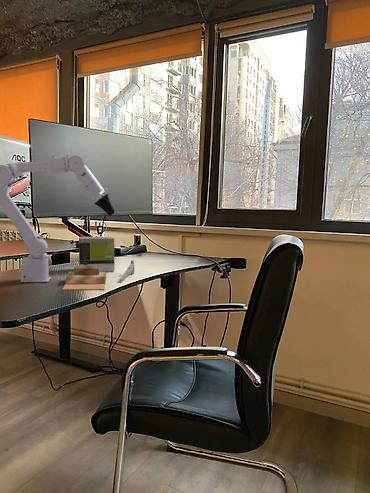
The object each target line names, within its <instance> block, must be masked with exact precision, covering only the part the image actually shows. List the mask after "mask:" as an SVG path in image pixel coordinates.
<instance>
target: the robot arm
mask: <svg viewBox="0 0 370 493" xmlns="http://www.w3.org/2000/svg"><path fill="white" fill-rule="evenodd" d="M40 171H41V172H42V171H47V172H49V174H62V173H65V174H66V173H69V172H70V171H71V172H72V173H73V174H74V176H76V179H77V181H78V182H79V183H80V184H81V186H82V187H83V188H84V190H85V191H86V194H88V195H89V197H90V199H91V201H94V200H95V199H96V200H97V201H95V202H94V205H95V206H97V207H99V209H101V210H102V211H104V212H105V213H106V214H107V215H108V216H109V217H110V216H112V215H114V214H115V209H114V206H113V205H112V203H111V201H110V198H109V194H108V193H107V194H105V195H104V193H105V192H106V191H107V190H108V188H107V187H105V188H103V186H102V185H101V184H100V182H99V181H98V180H97V178H96V177H95V175H94V174H93V173H92V171H91V170H90V169H89V168H88V166H87V165H86V164H85V162H84V159H83V158H82V157H80V155H79V156H78V155H76V154H75V155H72V156H69V155H68V154H67V155H65V156H56V155H51V157H48V158H47V159H46V160H45V161H25V162H24V161H23V162H19V161H18V162H11V163H6V164H5V165H4V164H0V209H1V210H2V211H3V212H4V214H5V215H6V216H7V218H8V220H9V221H10V222H11V223H12V225H13V226H14V228H15V229H16V231H17V232H18V233H19V235H20V236H21V237H22V239H23V240H22V241H23V242H24V244H25V245H26V247H27V252H28V255H27V256H23V257H22V258H21V261H20V283H47V282H49V281H50V280H51V278H52V276H49V274H50V273H49V255H48V253H47V251H48V250H49V249H48V248H49V244H48V241H47V240H45V239H44V238H42V237H41V236H40V235H39V234H38V233H37V231H35V229H34V228H33V227H32V225H31V223H30V222H29V220H28V219H27V217H25V215H24V214H23V212H22V211H21V210H20V208H19V207H18V206H17V204H16V202H14V200H13V199H12V198H11V196H10V191H11V187H12V186H13V185H14V182H15V181H16V179H17V177H21V176H22V175H23V174H24V173H31V172H40Z"/></svg>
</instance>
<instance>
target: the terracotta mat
mask: <svg viewBox="0 0 370 493" xmlns="http://www.w3.org/2000/svg"><path fill="white" fill-rule="evenodd" d="M105 288H106V283H105V284H66V283H65V284H64V285H63V288H61V289H62V290H61V291H105Z"/></svg>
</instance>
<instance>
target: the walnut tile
mask: <svg viewBox="0 0 370 493" xmlns="http://www.w3.org/2000/svg"><path fill="white" fill-rule="evenodd" d="M73 272H74V275H99V273H100V266H79V265H75V266H74V267H73Z"/></svg>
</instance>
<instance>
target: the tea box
mask: <svg viewBox="0 0 370 493" xmlns="http://www.w3.org/2000/svg"><path fill="white" fill-rule="evenodd" d="M78 266H100V272H115V238H114V236H79V238H78Z"/></svg>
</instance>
